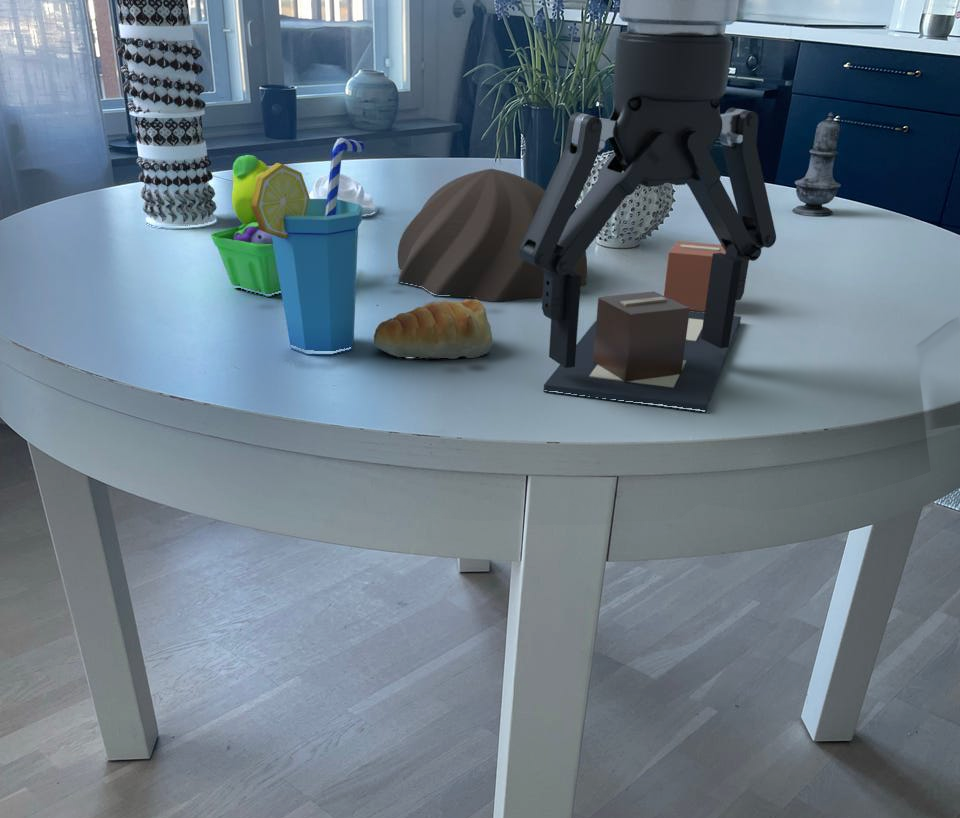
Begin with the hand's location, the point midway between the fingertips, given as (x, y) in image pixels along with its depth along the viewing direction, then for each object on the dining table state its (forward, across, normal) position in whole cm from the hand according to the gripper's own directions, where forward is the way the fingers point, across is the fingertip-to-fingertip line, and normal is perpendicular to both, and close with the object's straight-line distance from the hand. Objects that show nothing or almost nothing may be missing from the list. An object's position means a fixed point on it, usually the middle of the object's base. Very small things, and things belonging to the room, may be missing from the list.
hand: (640, 352), depth 78 cm
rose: (+2, +3, -68) cm, 69 cm away
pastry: (+2, +12, -12) cm, 17 cm away
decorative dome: (+2, -2, -32) cm, 33 cm away
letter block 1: (+1, 0, 0) cm, 1 cm away
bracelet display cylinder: (+2, +23, -68) cm, 72 cm away
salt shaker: (+2, -57, -50) cm, 76 cm away
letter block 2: (+2, -16, -16) cm, 23 cm away
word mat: (+2, -4, -4) cm, 6 cm away
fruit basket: (+2, +19, -36) cm, 41 cm away
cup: (+2, +20, -16) cm, 26 cm away
